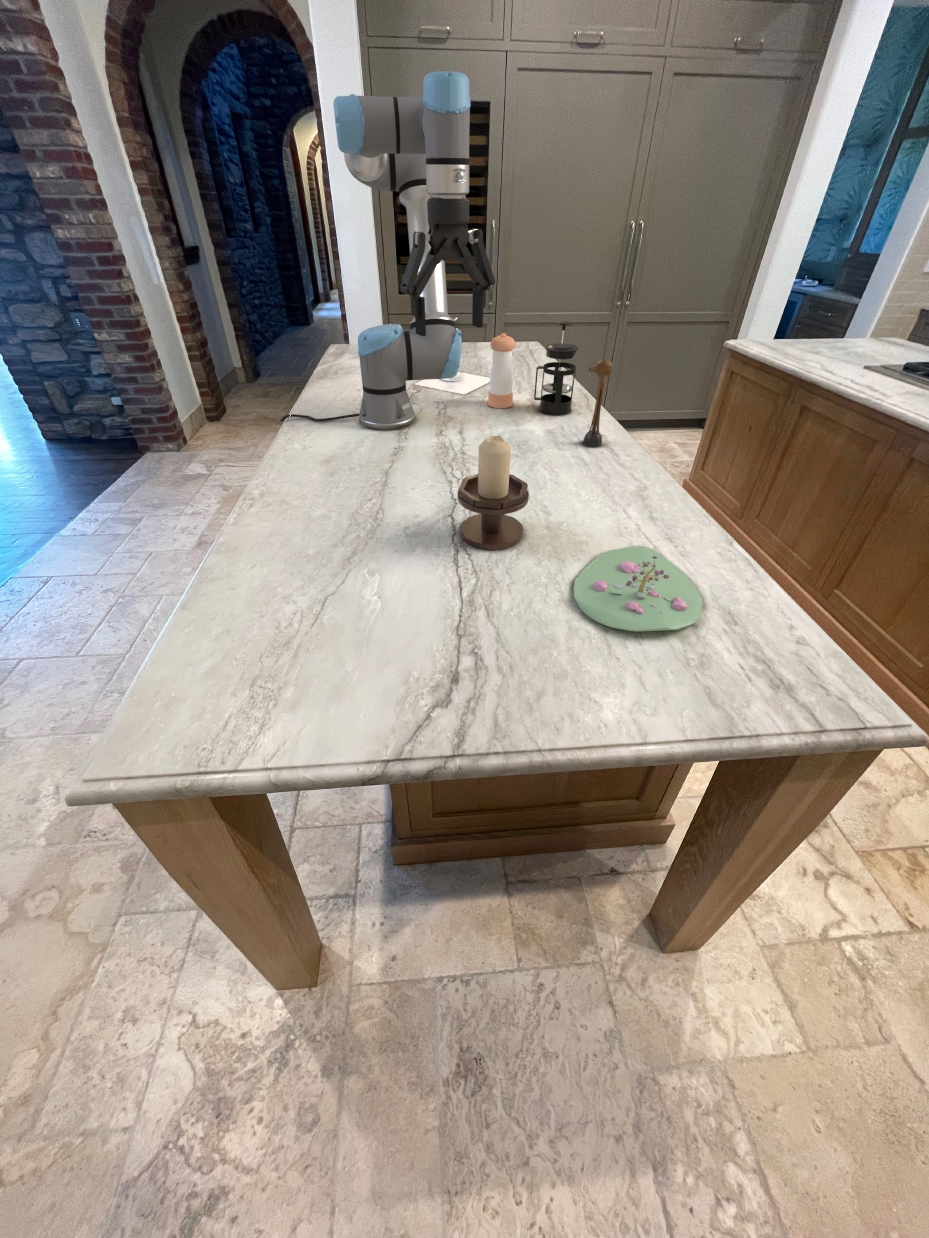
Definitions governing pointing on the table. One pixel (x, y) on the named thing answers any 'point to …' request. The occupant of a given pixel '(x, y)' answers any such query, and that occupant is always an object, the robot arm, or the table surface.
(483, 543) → the candle stand
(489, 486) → the candle
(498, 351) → the salt shaker
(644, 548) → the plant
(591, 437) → the wooden tabletop sculpture
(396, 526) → the table surface
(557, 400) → the french press
